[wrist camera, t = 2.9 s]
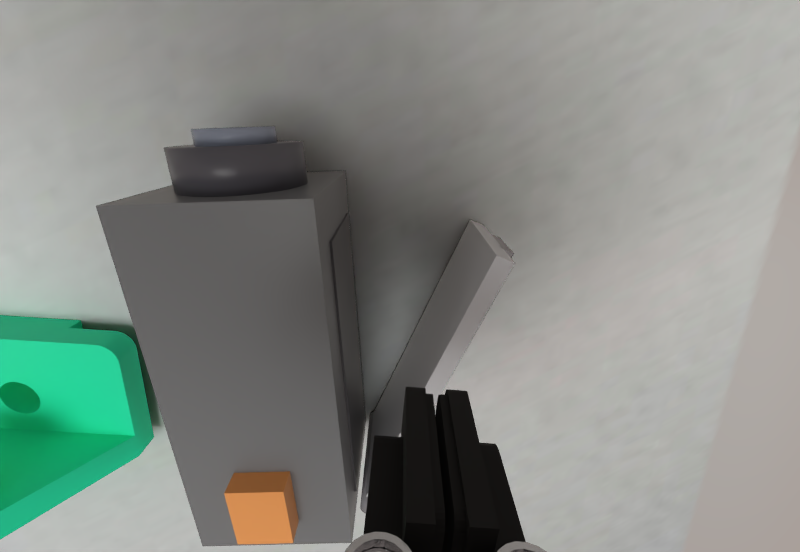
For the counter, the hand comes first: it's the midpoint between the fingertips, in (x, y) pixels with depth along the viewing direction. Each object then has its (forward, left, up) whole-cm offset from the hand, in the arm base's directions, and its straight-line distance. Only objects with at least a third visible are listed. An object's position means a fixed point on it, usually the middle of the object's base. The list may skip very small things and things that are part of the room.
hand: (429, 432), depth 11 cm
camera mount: (+6, -22, -13) cm, 26 cm away
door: (+4, 0, -12) cm, 12 cm away
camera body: (+1, -7, -12) cm, 14 cm away
